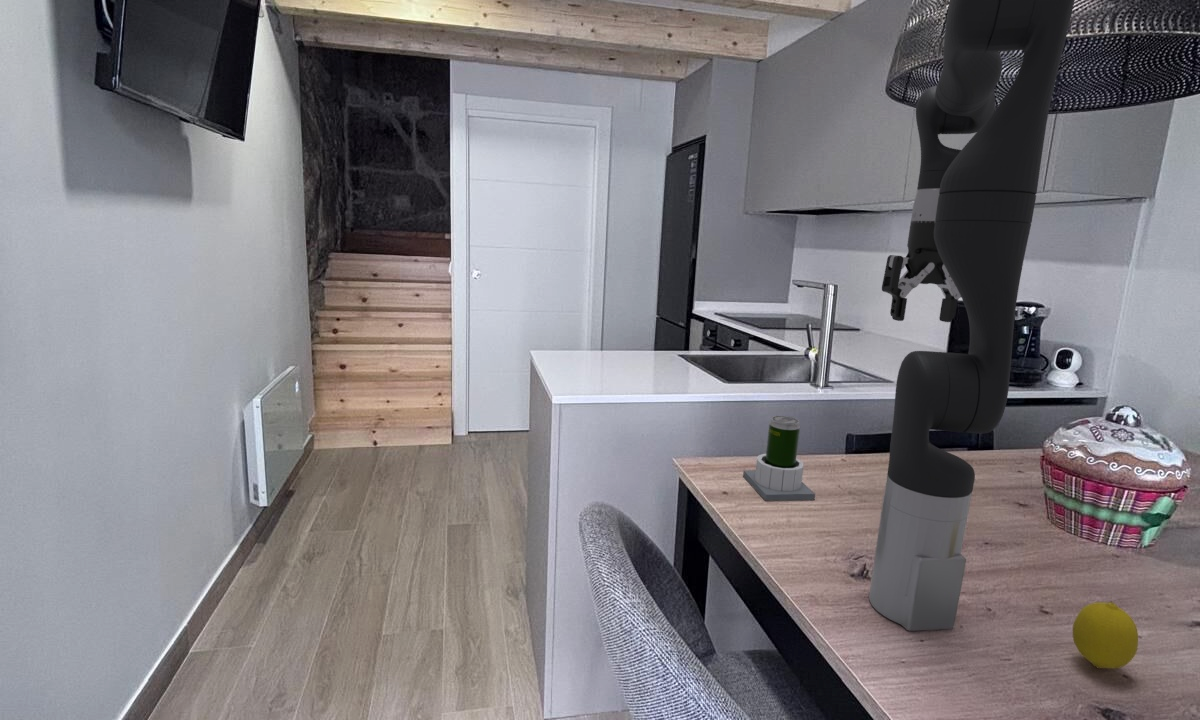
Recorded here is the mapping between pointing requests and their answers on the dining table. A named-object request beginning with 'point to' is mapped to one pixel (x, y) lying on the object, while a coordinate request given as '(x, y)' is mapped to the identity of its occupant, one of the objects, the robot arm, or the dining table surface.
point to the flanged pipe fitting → (778, 481)
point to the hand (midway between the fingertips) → (921, 320)
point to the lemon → (1105, 635)
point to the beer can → (782, 442)
